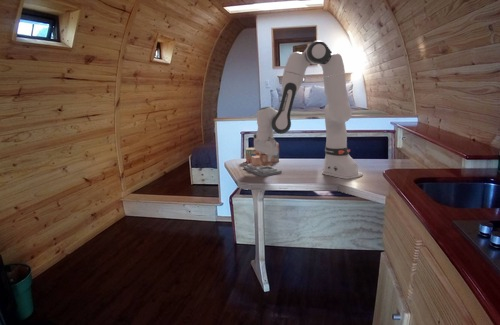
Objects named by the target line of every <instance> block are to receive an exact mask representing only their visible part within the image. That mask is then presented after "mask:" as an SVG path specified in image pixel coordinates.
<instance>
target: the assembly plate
mask: <svg viewBox="0 0 500 325" xmlns="http://www.w3.org/2000/svg"><path fill="white" fill-rule="evenodd" d="M246 164H247V165H244V166H243V168H244V170H245V169H246V171H248V172H250V173H252V174H254V175H257V176H259V177H262V178H264V177H268V176H274V175H279V174H282V169H281V170H280V168H279V169H278V168H277V167H274V166H272V165H269V166H262V165H260V156H252V157H251V163H246Z"/></svg>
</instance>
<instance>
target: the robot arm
mask: <svg viewBox="0 0 500 325" xmlns="http://www.w3.org/2000/svg"><path fill="white" fill-rule="evenodd" d="M315 65H316V66H317V65H319V66H320V67H321V70H322V76H323V87H324V88H323V89H324V94H325V96H326V100H327V104H326V105H325V107H324V111H323V112H324V124H325V125H324V126H325V136H326V137H325V138H326V140H325V141H326V142H325V146H324V147H325V148H324V153H325V157H324V161H323V167H322V172H321V174H323V175H326V176H330V177H335V178H339V179H343V180H345V179H348V180H349V179H357V178H360V177H362V176H363V175H364V174H363V172H360V171H359V164H358V163H357V162H356V161H355V159H353V157H351V155H350V152H351V150H350V149H349V148H348V142H347V141H348V132H347V126H346V123H347V122H348V121H349V120H350V119H351V118H352V115H353V110H352V107H351V104H350V98H349V95H348V90H347V82H346V73H345V72H346V71H345V70H346V69H345V65H344V60H343V57H342V55H341V54H340V53H338V52H332V51H331V49H330V48H329V46H328V45H327V44H326V43H325V42H324V41H322V40H314V41H312V42H311V43H310V44H308V45H307V47H306V48H305V49H304V50H303V51H302V52H300V51H294V52H292V53H291V54H289V57H288V58H287V61H286V64H285V66H284V68H283V69H284V70H283V75H282V79H281V87H282V94H281V100H280V104H279V107H278V110H276V108H275V109H274V108H273V107H272V106H264V107H261V108H259V109H258V111H257V117H256V121H257V122H256V124H257V132H256V133H254V134H253V135H252V136H253V148H254V149H255V150H257V151H260V154H263V153H266V154H267V155H268V158H267V161H268V162H270V161H271V157H272V155H277V153H278V148H277V141H276V139H275V138H274V132H275V133H277V134H280V135H281V134H283V135H284V134H286V133H287V132H288V131H290V129H291V127H292V122H291V113H292V112H291V111H292V108H293V106H294V102H295V98H296V96H297V94H298V92H299V90H300V88H301V86H302V83H303V81H304V79H305V75H306V74H305V73H306V70H307V68H308V66H309V67H310V66H315Z"/></svg>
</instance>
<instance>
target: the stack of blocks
mask: <svg viewBox="0 0 500 325" xmlns="http://www.w3.org/2000/svg"><path fill="white" fill-rule="evenodd" d="M276 142H277V141H276ZM277 148H278V153H277V155H272V163H279V162H280V144H279V142H277ZM263 154H265V153H263ZM252 156H260V151H257V150H255V149H254V147H245V161H246V162H245V163H246V164H251V157H252Z"/></svg>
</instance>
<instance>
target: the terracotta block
mask: <svg viewBox="0 0 500 325" xmlns="http://www.w3.org/2000/svg"><path fill="white" fill-rule="evenodd" d="M267 158H268V155H267V154H266V153H265V154H260V165H262V166H272V165H273V162H272V157H271V161H270V162H268V161H267Z"/></svg>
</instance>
